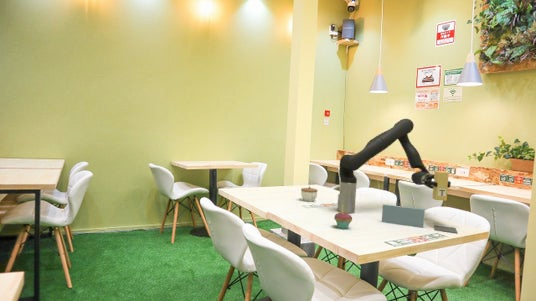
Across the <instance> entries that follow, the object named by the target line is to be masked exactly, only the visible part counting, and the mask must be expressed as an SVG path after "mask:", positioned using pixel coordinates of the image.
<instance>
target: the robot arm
mask: <svg viewBox="0 0 536 301" xmlns="http://www.w3.org/2000/svg"><path fill="white" fill-rule="evenodd" d="M414 126H415V124H414V122H413V121H412V120H411V119H409V118H403V119H400V120H399V121H397V122H396V123H395V124H393V126H392V127H391V128H389V129H388V130H386V131H384V132H382V133H379V134H377V135H376V136H375V137H373V138H371V139H370V140H369V141H367V143H366V145H365V147H363V148H362V149H361V150H360V151H359V152H357V153H355V154H343V155H342V156H341V157H340V160H339V170H338V171H339V178H340V180H339V181H340V183H339V194H337V209H336V210H337V211H338V212H339V213H341V212H342V203H343V212H345V213H348V214H355V211H356V197H357V196H356V195H357V182H358V180H357V177H356V175H355V174H354V172H355V171H357V170H358V169H360V168H361V167H363V166H364V165H365V164H366V163H367V162H368V161H370V160H371V159H373V158H374V157H376V156H378V155H379V154H380V153H382V152H383V151H385V150H387V149H388V148H389V147H390V146H391V145H393V144H394V143H395V142H396V141H399V143H400V145H401V147H402V149H403V150H404V153H405V155H406V158H407V161H408V163H409V166H410V168H411V169H419V170H420V171H416V172H413V173H412V174H411V177H410V178H411V182H413V184H415V185H417V186H425V187H427V188H429V189H432V190H433V186H434V187H437V185H438V183H437V182H434V173H431V172H430V171H429V170H428V169H427V168H426V166H425V164H424V163H423V161H422V157H421V155H420V153H419V151H418V150H417V148H416V147H415V146H414V145H413V144H412V142H411V140H410V138H409V134H411V132H412V131H413V130H414ZM451 184H452V183H451V181H450V180H448V187H447V189H449V188H451Z"/></svg>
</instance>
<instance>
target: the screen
mask: <svg viewBox="0 0 536 301" xmlns="http://www.w3.org/2000/svg"><path fill="white" fill-rule="evenodd" d="M381 211H382V212H381V222H382V223H387V224H395V225H401V226H408V227H414V228H415V227H417V228H420V229H421V228H423V229H424V223H425V222H424V221H425V212H426V211H425V208H418V207H417V208H416V207H408V206H399V205H393V204H382V210H381Z"/></svg>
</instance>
